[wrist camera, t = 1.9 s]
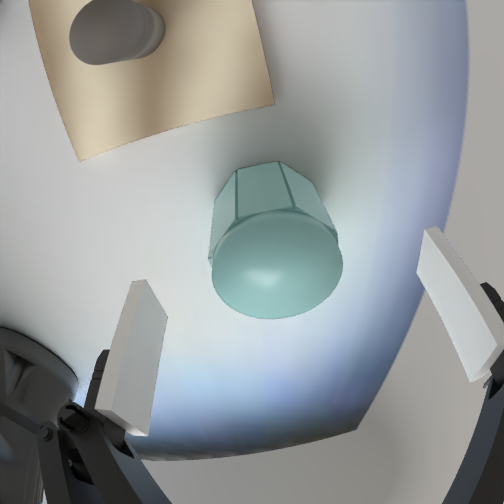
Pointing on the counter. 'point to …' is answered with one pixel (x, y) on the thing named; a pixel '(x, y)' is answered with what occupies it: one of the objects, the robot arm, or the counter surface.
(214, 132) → the counter surface
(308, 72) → the counter surface
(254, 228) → the cap
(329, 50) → the counter surface
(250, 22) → the post block
